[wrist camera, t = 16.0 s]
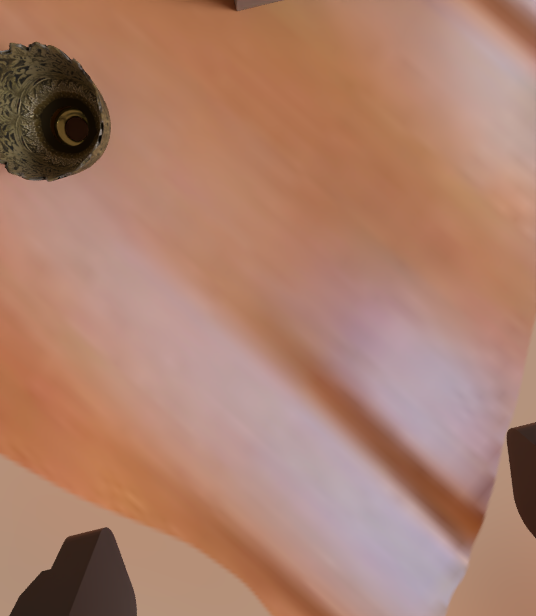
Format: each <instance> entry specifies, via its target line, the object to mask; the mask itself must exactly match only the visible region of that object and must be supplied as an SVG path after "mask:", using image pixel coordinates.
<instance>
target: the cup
mask: <svg viewBox="0 0 536 616" xmlns="http://www.w3.org/2000/svg"><path fill="white" fill-rule="evenodd" d="M9 47H10V49H9V50H5V51H0V163H2V164H5V168H6V169H7V171H8V172H9V173H11V174H14V175H18V176H22V178H24V179H26V180H47V181H54V180H57V179H60V178H64V177H67V176H70V175H73V174H76V173H79V172H81V171H83V170H85V169H87V168H89V167H90V166H92V165H93V164H94V163H95V162H96V161H97V160H98V159H99V158H100V157H101V156H102V154H103V153H104V151H105V149H106V147H107V145H108V142H109V138H110V130H111V122H110V116H109V112H108V108H107V106H106V103H105V101H104V99H103V97H102V95H101V93H100V92H99V90H98V89H97V87H96V86H95V84H94V83H93V81H92V80H91V78H90V77H89V75H88V74H87V73H86V72H85V71H84V69H83V68H82V66H81V65H80V64H79V63H78V62H77V61H76V60H75V59H74V58H73V59H72V60H71V59H70V58H69V57H68V56H67V55H66V54H64V53H63V52H62V51H61V50H59V49H58V48H56V47H54V46H51V45H48V46H46V45H43V44H40V43H38V42H34V43H32V44H29V47H26V46H23V45H22V44H16V43H10V45H9ZM72 117H80V118H82V119H83V120H84V121H85V122H86V123H87V125H88V128H89V131H88V135H87V137H86V138H85V139H83V140H81V141H75V140H72V139H71V138H69V136H68V135H67V133H66V131H65V125H66V122H67V121H68V120H69V119H70V118H72Z"/></svg>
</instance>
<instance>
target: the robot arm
mask: <svg viewBox="0 0 536 616" xmlns="http://www.w3.org/2000/svg"><path fill="white" fill-rule="evenodd" d="M507 446H508V454H509V462H510V469H511V478H512V486H513V494H514V500H515V503H516V507H517V509H518V512H519V514H520V516H521V518H522V520H523V522H524V524H525V525H526V527H527V528H528V529H529V531H530V532H531V533H532V534H533V536H534V537H535V538H536V422H535V423H531V424H527V425H523V426H519V427H515V428H511V429H509V430H508V432H507ZM10 616H137V608H136V599H135V594H134V590H133V587H132V584H131V582H130V579H129V576H128V574H127V571H126V568H125V565H124V562H123V559H122V557H121V554H120V551H119V548H118V546H117V543H116V540H115V537H114V535H113V533H112V531H111V530H110V529H109V528H107V527H106V528H101V529H98V530H93V531H89V532H85V533H81V534H77V535H73V536H69V537H67V538H66V539H65V541H64V543H63V545H62V547H61V549H60V551H59V553H58V555H57V557H56V560H55V562H54V564H53V566H52V568H51V569H50V570H46V571H42V572H41V573H40V574H39V575H38V576H37V577H36V579H35V580H34V581H33V582H32V583H31V584H30V585H29V586H28V587H27V589H26V590H25V591H24V592H23V593H22V594H21V595H20V596H19V598H18V600H17V602H16V604H15V606H14V608H13V610H12V612H11V614H10Z"/></svg>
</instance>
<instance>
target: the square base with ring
mask: <svg viewBox="0 0 536 616" xmlns="http://www.w3.org/2000/svg"><path fill="white" fill-rule="evenodd" d="M234 1H235V6H236V10H237V11H240V10H244V9H248V8H252V7H256V6H261V5H265V4H269V3H273V2H277V1H282V0H234Z"/></svg>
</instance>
